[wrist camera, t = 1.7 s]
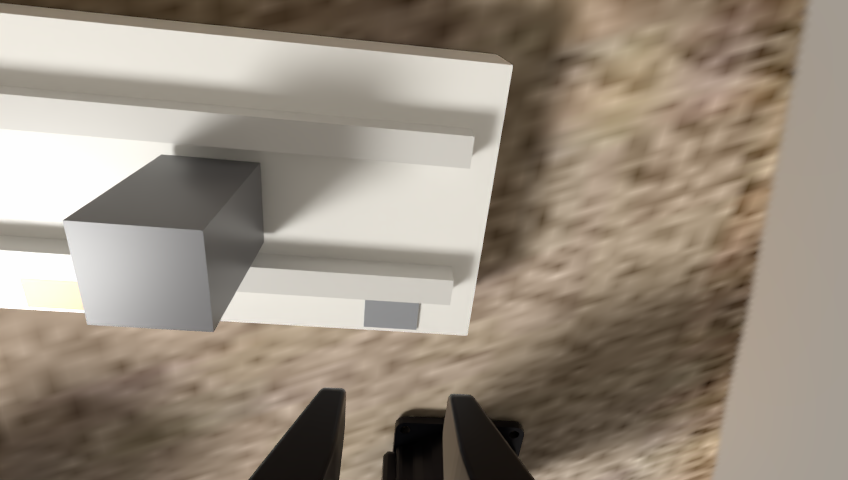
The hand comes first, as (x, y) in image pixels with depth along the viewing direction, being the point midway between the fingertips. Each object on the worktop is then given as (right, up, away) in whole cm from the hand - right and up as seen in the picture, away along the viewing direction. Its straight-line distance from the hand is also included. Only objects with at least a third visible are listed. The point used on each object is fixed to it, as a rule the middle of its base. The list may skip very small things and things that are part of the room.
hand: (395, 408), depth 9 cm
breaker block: (-6, +6, +10) cm, 13 cm away
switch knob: (-6, +4, +7) cm, 11 cm away
